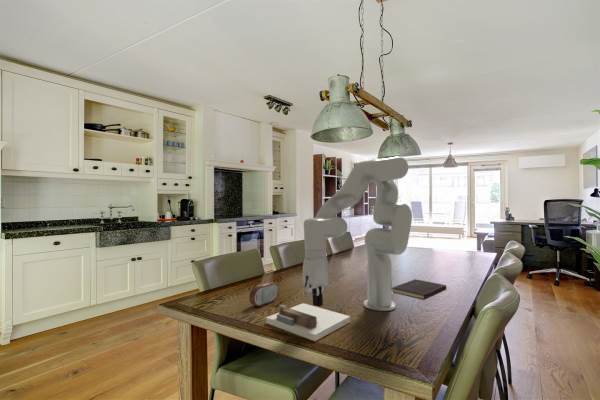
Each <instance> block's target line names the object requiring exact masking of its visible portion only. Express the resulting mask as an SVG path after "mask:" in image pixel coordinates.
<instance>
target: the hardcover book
mask: <svg viewBox="0 0 600 400" xmlns="http://www.w3.org/2000/svg"><path fill="white" fill-rule="evenodd" d="M445 290H447V285H445V284H441V283H438V282H437V283H436V282H432V281H427V280H421V279H417V278H416V279H412V280H409V281H407V282H403V283H401V284H398V285H395V286H393V287H392V292H393V293H397V294H401V295H405V296H410V297H414V298H418V299H422V300H425V299H428V298H431V297H432V296H434V295H437V294H438V293H441V292H443V291H445Z"/></svg>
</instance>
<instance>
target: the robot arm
mask: <svg viewBox="0 0 600 400" xmlns="http://www.w3.org/2000/svg"><path fill="white" fill-rule="evenodd" d="M408 171H409V164H408V161H407V160H406V159H405V158H404V157H401V156H394V157H393V156H392V157H388V158H381V159H379V158H378V159H371V160H370V159H369V160H363V161H359V162H357V163H356V164H355V165H354V166H353V168H352V169H351V171H350V172H349V174H348V176H347V177H346V180H345V181H344V183H343V184H342V186H341V187H340V189H339V190H338V191H337V192H336V193H334V194H333V195H332V196H331V197H330V198H329V199H327V200H326V201H325V202H324V203H323V204H322V205H321V207H320V208H319V209H318V211H317V212H316V215H315V216H314V217H313V218H307V219H305V220H304V221H303V235H304V236H303V241H304V259H303V264H302V287H305V291H306V293H310V294H311V295H312V306H315V307H319V308H321V307H322V306H323V305H324V300H323V298H324V297H323V294H324V289H325V287H326V286H327V285H328V283H329V281H330V270H329V262H328V258H327V257H328V256H327V238H331V239H332V238H341V237H342V236H344V235H345V234H346V233H347V231H348V223H347V221H346V220H345V219H344V218H343V217H339V216H337V215H338V214H339V213H341V212H342V211H344V210H345V209H348V208H350V207H352V206H354V205H356V204H358V203H360V201H361V199H362V197H363V196H364V194H365V192H366V191H367V189H368V187H369V185H370V184H371V183H374V184H375V186H376V198H375V202H374V203H375V204H374V208H373V214H372V215H373V217H372V219H373V222H374V223H375V224H377V225H379V226H386V227H390V228H383V227H382V228H380V227H374V228H370V229H368V230H367V231H366V233H365V236H364V245H365V251H366V258H367V261H366V262H367V263H366V264H367V268H366V269H367V272H366V273H367V276H366V277H367V279H366V280H367V299H365V300H364V301H363V306H364V307H365V308H367V309H369V310H373V311H376V312H377V311H378V312H388V311H393V310H394V309H396V305H397V304H396V302H394V301H393V300H392V298H393V297H395V292H392V279H393V278H392V259H391V256H390V255H394V256H395V255H397V256H398V255H399V256H400V255H402V254H404V253H405V252H406V249H407V248H408V245H409V244H408V243H409V239H410V238H409V237H410V233H411V227H412V223H413V213H412V210H411V208H410V206H409V205H408V204H407V203H404V202H398V198H399V189H398V186H397V185H396V182H395V181H394V180H398V179H399V180H400V179H402V178H405V177H406V175H407V174H408Z"/></svg>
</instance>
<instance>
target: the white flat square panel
mask: <svg viewBox="0 0 600 400" xmlns="http://www.w3.org/2000/svg"><path fill="white" fill-rule="evenodd" d="M289 308H290V309H293V310H296V311H299V312H303V313H306V314H309V315H312V316H315V317H317V326H316V327H314V328H312V329H309V328H306V327H304V326H301V325H298V324H295V319H294V318H291V317H288V316H285V315H282V314H279V312H277V313H274V314H271V315H269V316H266V318H265V320H266V321H265V323H266V324H268V325H271V326H273V327H275V328H278V329H280V330H284V331H287V332H289V333H292V334H295V335H297V336H300V337H302V338H304V339H308V340H311V341H312V342H317V341H318V340H320V339H322V338H323V337H325V336H327V335H329V334H331V333H334V332H335V331H337V330H338V329H340V328H342V327H344V326H346V325H347V324H349V323H351V316H350V315H347V314H343V313H340V312H337V311H332V310H329V309H326V308H325V309H324V308H323V307H318V306H314V305H311V304H309V303H305V302H303V303H300V304H297V305H295V306H292V307H289Z"/></svg>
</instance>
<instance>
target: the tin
mask: <svg viewBox="0 0 600 400" xmlns="http://www.w3.org/2000/svg"><path fill="white" fill-rule="evenodd" d="M278 296H279V286H278V284H277V283H276V282H273V281H266V282H264V283H260V284H259V283H258V284H256V285H255V286H253V288H251V290H250V293H249V297H248V298H249V302H250V304H251V306H252V305H253V306H256V307H261V306H264V305H268V304H270V303H272V302H274V301H276V299H278Z"/></svg>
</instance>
